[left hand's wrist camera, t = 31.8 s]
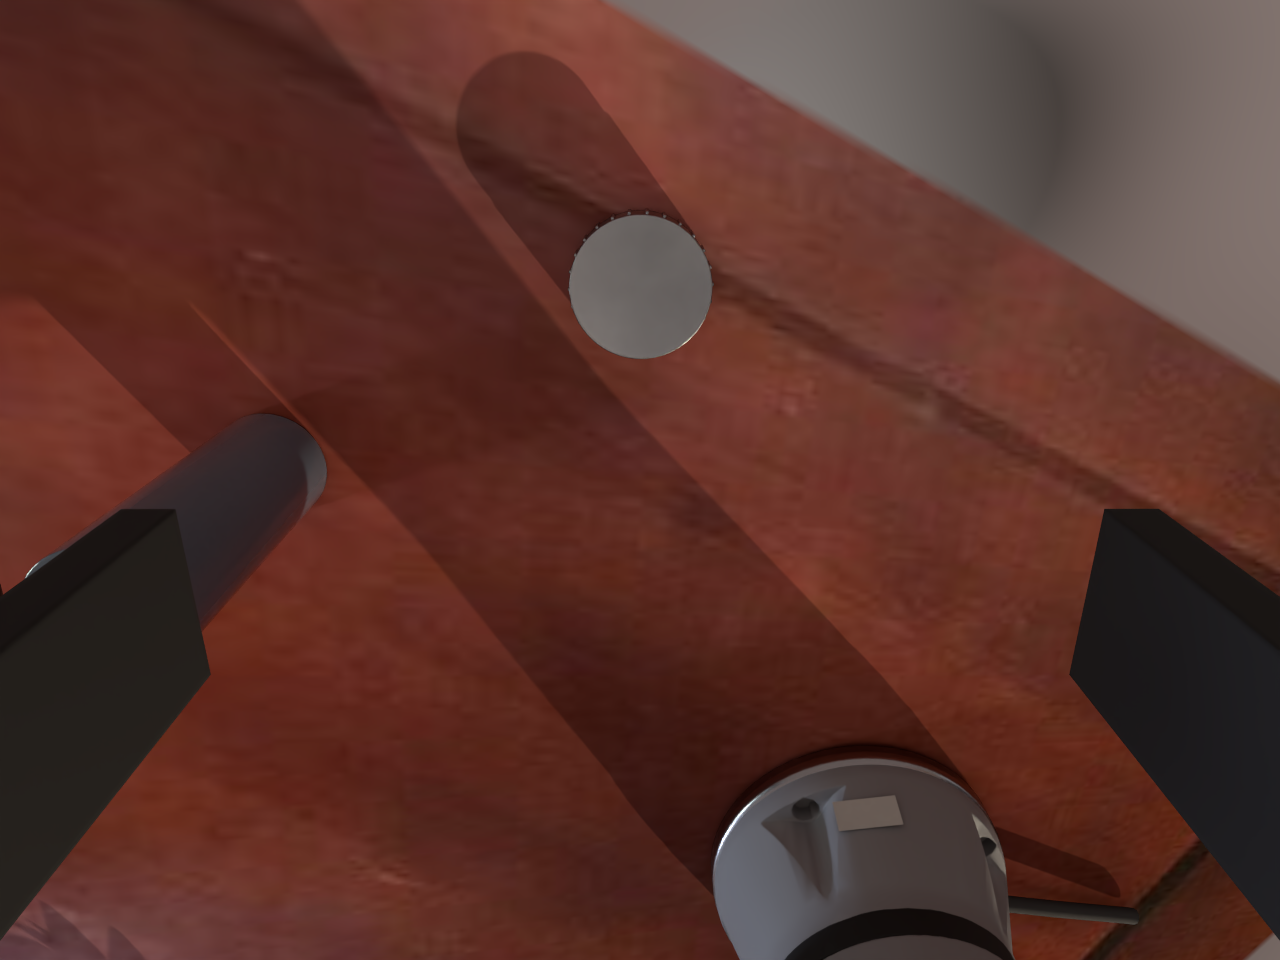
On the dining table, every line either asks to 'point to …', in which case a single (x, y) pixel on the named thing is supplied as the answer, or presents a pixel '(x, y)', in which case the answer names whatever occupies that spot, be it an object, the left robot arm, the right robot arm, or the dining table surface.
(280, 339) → the dining table surface
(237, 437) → the jar
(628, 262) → the lid
